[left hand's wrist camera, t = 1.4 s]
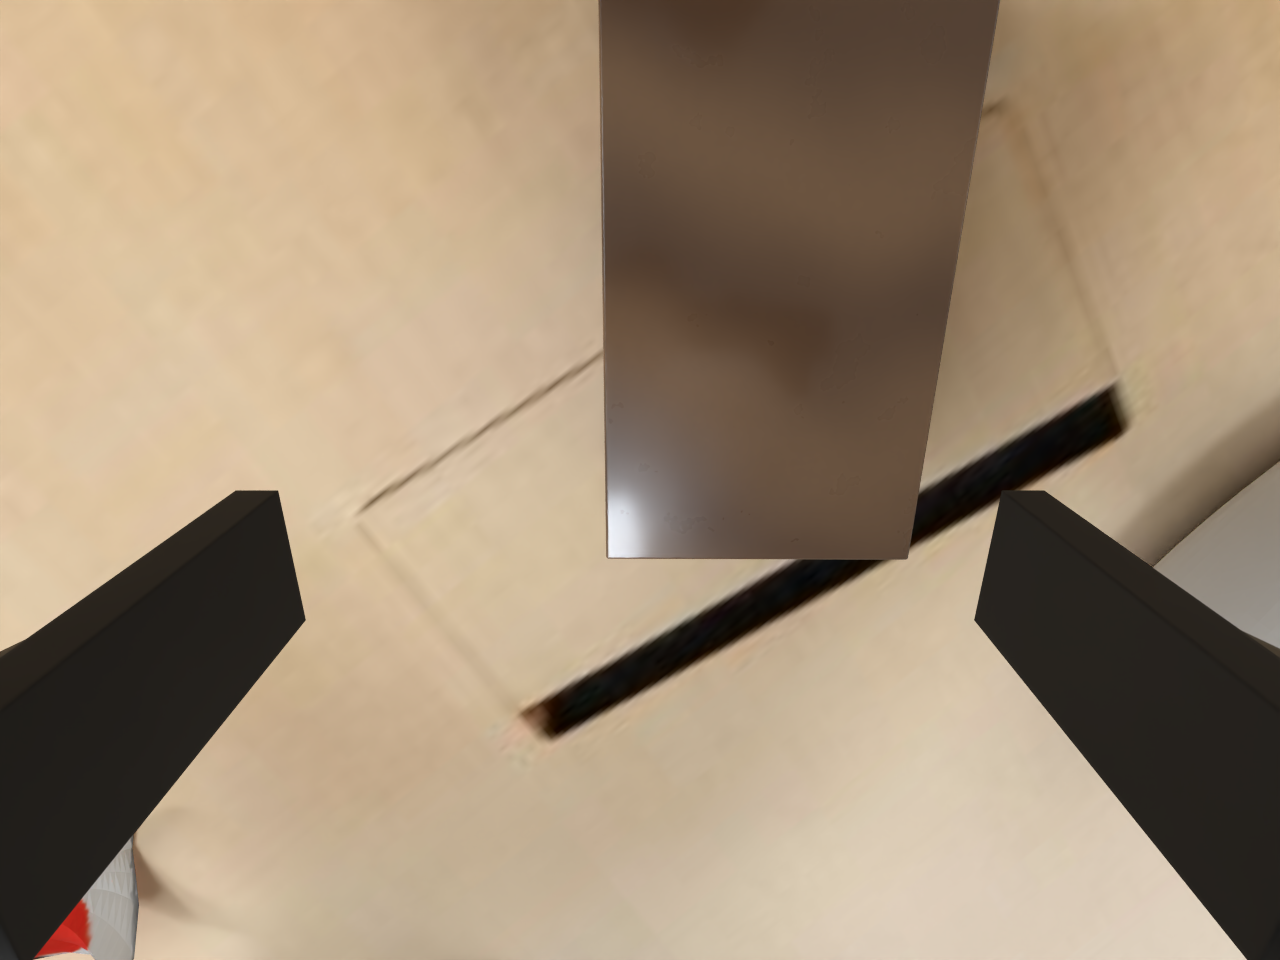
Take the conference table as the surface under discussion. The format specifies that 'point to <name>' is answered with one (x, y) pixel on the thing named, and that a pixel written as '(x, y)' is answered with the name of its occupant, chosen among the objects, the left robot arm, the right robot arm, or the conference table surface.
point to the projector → (1236, 559)
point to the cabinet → (779, 266)
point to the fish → (102, 916)
